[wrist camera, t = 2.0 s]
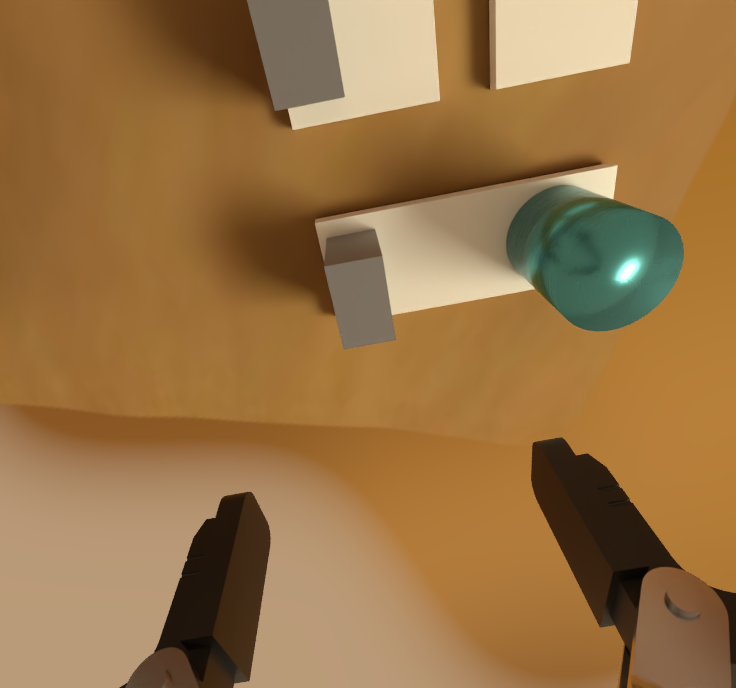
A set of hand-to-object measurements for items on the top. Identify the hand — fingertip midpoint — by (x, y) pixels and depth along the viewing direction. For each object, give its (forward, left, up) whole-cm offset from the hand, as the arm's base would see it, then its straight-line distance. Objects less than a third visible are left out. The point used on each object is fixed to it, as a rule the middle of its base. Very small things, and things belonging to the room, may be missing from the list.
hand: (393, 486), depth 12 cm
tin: (+12, 0, -17) cm, 21 cm away
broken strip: (+7, +12, -18) cm, 23 cm away
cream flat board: (+7, 0, -18) cm, 19 cm away
